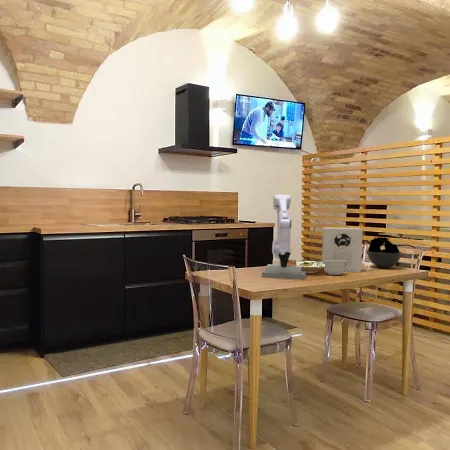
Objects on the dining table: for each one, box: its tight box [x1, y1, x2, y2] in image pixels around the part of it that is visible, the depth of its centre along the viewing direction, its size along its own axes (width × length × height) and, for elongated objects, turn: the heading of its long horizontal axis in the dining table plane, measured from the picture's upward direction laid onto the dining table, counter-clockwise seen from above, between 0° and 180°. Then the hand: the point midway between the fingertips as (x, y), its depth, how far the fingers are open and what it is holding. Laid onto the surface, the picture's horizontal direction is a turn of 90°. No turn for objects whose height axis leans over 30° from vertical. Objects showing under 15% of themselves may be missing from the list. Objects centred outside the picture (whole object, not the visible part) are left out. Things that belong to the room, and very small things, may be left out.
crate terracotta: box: [287, 259, 297, 267], centre depth 249 cm, size 4×4×3 cm
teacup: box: [324, 260, 348, 276], centre depth 260 cm, size 14×11×8 cm
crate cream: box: [272, 258, 281, 266], centre depth 251 cm, size 4×4×3 cm
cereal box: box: [321, 226, 363, 273], centre depth 274 cm, size 22×8×25 cm, turn 84°
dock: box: [261, 269, 307, 280], centre depth 250 cm, size 11×22×2 cm, turn 75°
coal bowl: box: [366, 236, 402, 269], centre depth 288 cm, size 20×20×19 cm
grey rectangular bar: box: [266, 263, 303, 274], centre depth 250 cm, size 18×5×3 cm, turn 75°
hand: (284, 266), depth 250 cm, fingers closed on grey rectangular bar, 5 cm apart
